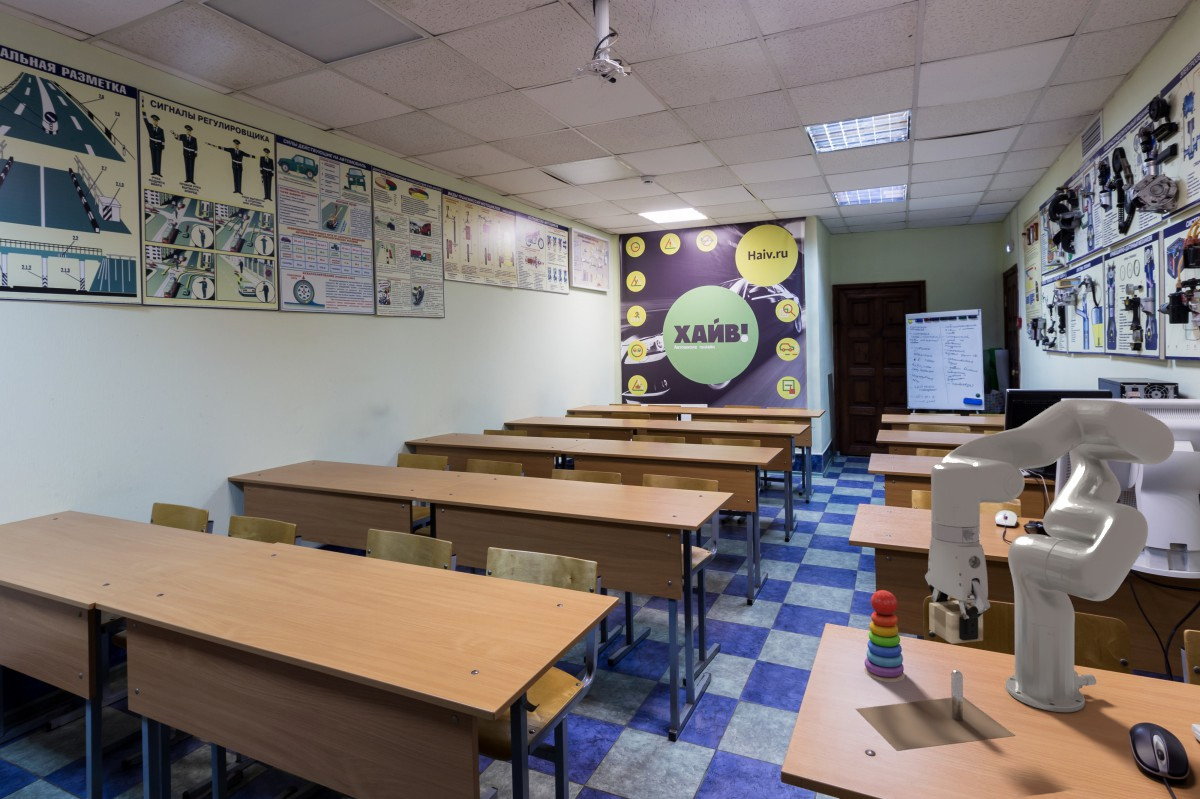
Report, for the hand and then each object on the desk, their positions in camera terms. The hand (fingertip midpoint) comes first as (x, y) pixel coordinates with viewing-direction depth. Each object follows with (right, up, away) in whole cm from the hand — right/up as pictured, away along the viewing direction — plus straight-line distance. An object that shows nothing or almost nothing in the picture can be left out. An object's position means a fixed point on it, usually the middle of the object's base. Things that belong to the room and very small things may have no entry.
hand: (955, 630), depth 113 cm
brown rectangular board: (-4, -18, 0) cm, 19 cm away
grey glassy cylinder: (+1, -16, +1) cm, 16 cm away
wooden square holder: (0, -1, 0) cm, 1 cm away
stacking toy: (-4, -17, +19) cm, 26 cm away
